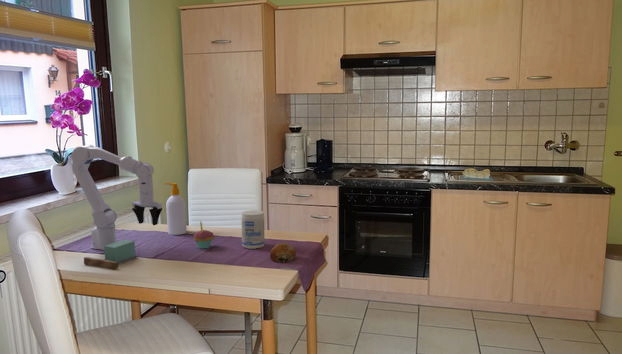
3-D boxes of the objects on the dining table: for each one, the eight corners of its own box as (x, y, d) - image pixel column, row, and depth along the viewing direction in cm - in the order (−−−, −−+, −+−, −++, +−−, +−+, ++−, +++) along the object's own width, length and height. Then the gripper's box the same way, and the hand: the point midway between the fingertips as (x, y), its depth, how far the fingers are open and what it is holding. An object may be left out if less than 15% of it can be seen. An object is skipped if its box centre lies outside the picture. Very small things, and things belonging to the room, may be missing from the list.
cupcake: (209, 250, 195) (207, 222, 193) (190, 249, 196) (188, 221, 195) (217, 244, 203) (216, 217, 201) (198, 243, 205) (197, 216, 203)
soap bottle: (171, 230, 228) (168, 181, 224) (189, 230, 226) (187, 181, 223) (163, 235, 219) (160, 184, 216) (182, 235, 218) (179, 184, 214)
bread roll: (297, 266, 185) (300, 246, 187) (288, 263, 176) (291, 241, 178) (274, 264, 188) (277, 244, 191) (264, 260, 179) (267, 239, 181)
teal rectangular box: (105, 261, 182) (103, 245, 181) (125, 254, 191) (124, 239, 190) (115, 263, 179) (114, 247, 178) (135, 256, 188) (134, 241, 187)
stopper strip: (84, 264, 179) (83, 257, 179) (86, 263, 180) (86, 256, 180) (115, 269, 173) (115, 262, 172) (118, 268, 174) (117, 261, 173)
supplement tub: (245, 250, 194) (244, 215, 192) (239, 244, 203) (238, 211, 201) (267, 247, 198) (267, 213, 196) (261, 241, 206) (260, 209, 204)
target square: (97, 262, 181) (97, 261, 181) (117, 254, 190) (117, 254, 190) (117, 265, 177) (117, 264, 177) (136, 257, 186) (136, 257, 186)
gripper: (166, 191, 198) (168, 223, 200) (139, 189, 204) (141, 220, 206) (154, 194, 192) (156, 227, 194) (127, 192, 198) (129, 224, 200)
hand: (148, 223), depth 199 cm, fingers open, 7 cm apart
